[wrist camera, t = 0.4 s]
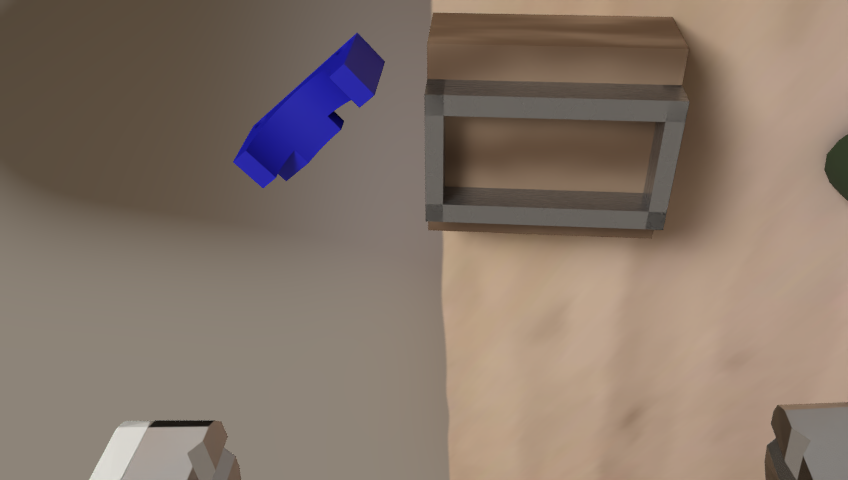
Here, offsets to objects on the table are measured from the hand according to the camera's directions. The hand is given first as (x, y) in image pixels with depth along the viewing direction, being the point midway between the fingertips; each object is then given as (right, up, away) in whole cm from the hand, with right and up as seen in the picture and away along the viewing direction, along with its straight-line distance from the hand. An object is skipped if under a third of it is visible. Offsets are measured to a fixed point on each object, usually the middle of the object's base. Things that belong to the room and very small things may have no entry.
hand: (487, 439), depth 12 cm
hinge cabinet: (+8, +13, +48) cm, 51 cm away
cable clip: (-9, +14, +50) cm, 53 cm away
